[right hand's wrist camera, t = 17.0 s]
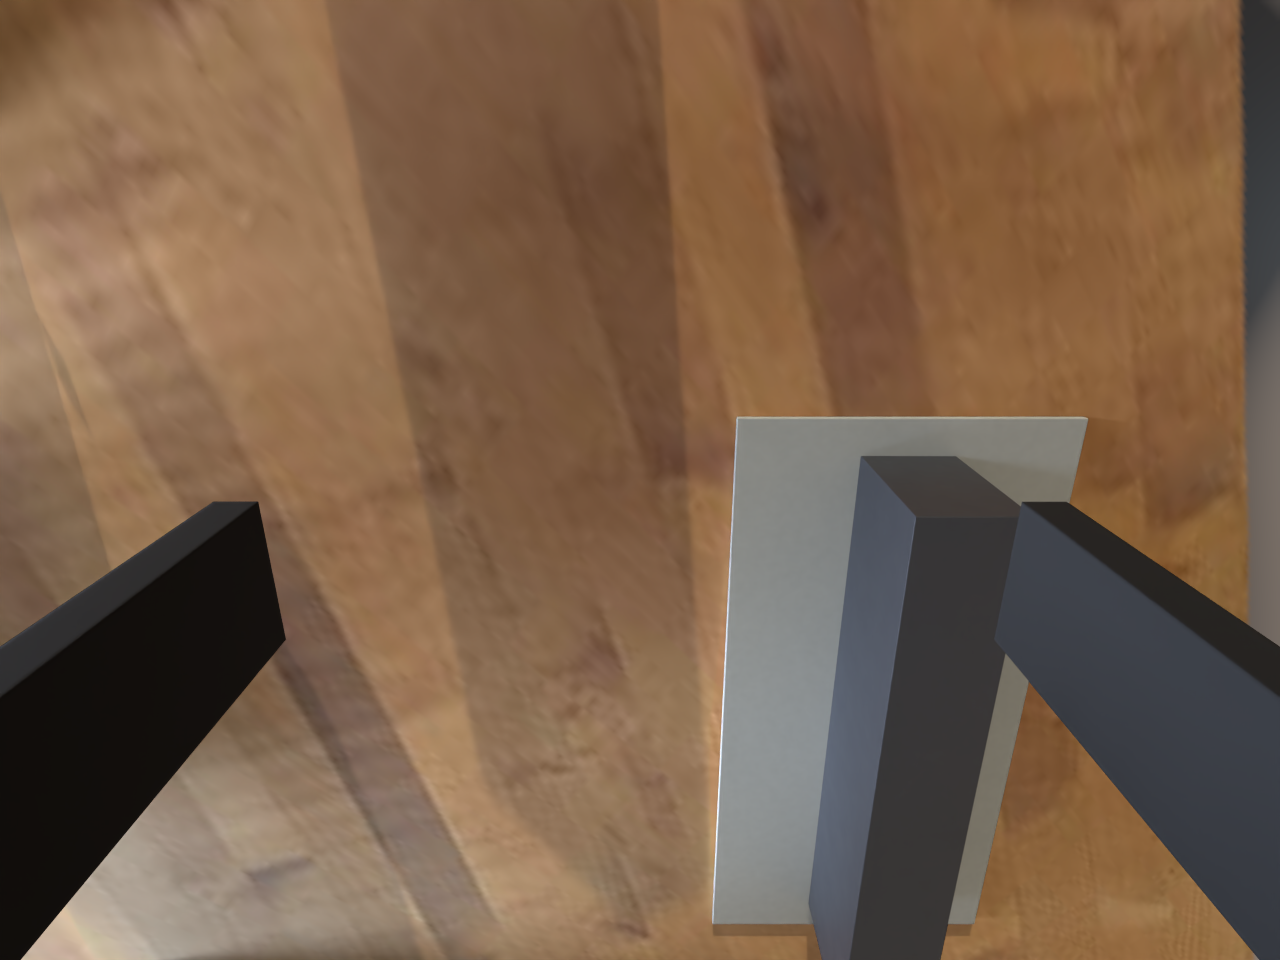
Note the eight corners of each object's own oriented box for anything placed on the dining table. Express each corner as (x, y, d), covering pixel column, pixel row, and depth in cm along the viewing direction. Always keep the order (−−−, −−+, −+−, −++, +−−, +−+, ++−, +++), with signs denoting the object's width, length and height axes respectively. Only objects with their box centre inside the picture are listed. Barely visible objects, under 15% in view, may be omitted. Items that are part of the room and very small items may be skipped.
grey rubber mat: (712, 919, 50) (712, 924, 49) (736, 416, 37) (737, 418, 37) (971, 919, 50) (974, 924, 49) (1084, 416, 37) (1089, 418, 37)
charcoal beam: (881, 903, 49) (925, 1029, 41) (808, 903, 49) (838, 1028, 41) (956, 455, 37) (1035, 517, 30) (860, 455, 37) (915, 516, 30)
